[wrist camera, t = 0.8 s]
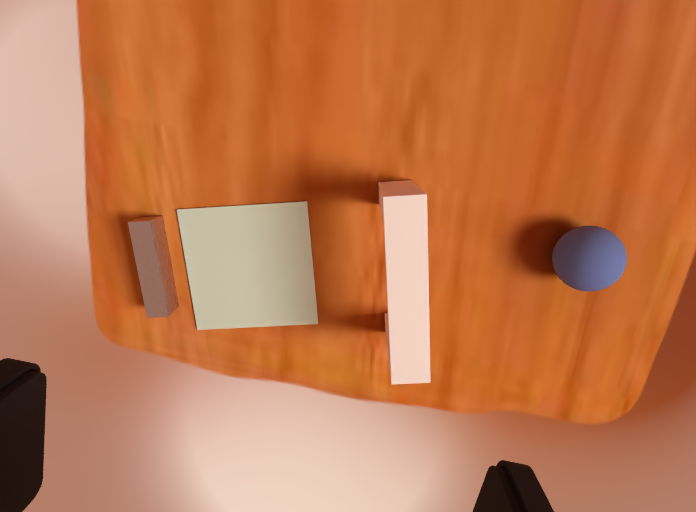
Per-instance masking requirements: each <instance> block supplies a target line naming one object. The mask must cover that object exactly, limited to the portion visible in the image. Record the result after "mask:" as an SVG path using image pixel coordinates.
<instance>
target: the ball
mask: <svg viewBox="0 0 696 512" xmlns="http://www.w3.org/2000/svg"><path fill="white" fill-rule="evenodd" d="M626 262H627V255H626V250H625V247H624V245H623V244H622V242H621V240H620V239H619V238H618V237H617V236H616V235H615V234H613V233H612V232H610V231H609V230H607V229H604V228H601V227H597V226H582V227H578V228H575V229H572V230H570V231H568V232H567V233H565V234H564V235H563V236H562V237H561V238H560V239H559V240H558V242H557V243H556V245H555V247H554V250H553V254H552V263H553V267H554V270H555V272H556V274H557V275H558V277H559V278H560V279H561V280H562V281H563V282H564V283H565V284H567V285H568V286H570V287H572V288H574V289H578V290H581V291H597V290H602V289H605V288H607V287H609V286H611V285H612V284H614V283H615V282H616V281H617V280H618V279H619V278H620V277H621V275H622V274H623V272H624V270H625V267H626Z"/></svg>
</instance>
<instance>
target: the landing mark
mask: <svg viewBox="0 0 696 512" xmlns="http://www.w3.org/2000/svg"><path fill="white" fill-rule="evenodd" d="M177 215H178V221H179V227H180V232H181V238H182V244H183V250H184V256H185V261H186V267H187V273H188V279H189V285H190V290H191V296H192V302H193V308H194V314H195V319H196V325H197V330H205V329H226V328H246V327H266V326H287V325H307V324H318V314H317V303H316V292H315V281H314V270H313V259H312V249H311V238H310V227H309V216H308V205H307V201H302V202H286V203H270V204H254V205H238V206H222V207H206V208H190V209H177Z"/></svg>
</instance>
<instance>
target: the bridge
mask: <svg viewBox="0 0 696 512" xmlns="http://www.w3.org/2000/svg"><path fill="white" fill-rule="evenodd" d="M378 187H379V205H380V209H381V214H382V218H383V222H384V243H385V265H386V287H387V308H388V313H385V333H386V341H387V350H388V358H389V367H390V375H391V384H410V383H430V334H429V280H428V227H427V194H426V193H425V192H424V191H423V190H422V189H421V188H420V187H419V186H418V185H417V184H416V183H415V182H414V181H413V180H405V181H389V182H378Z"/></svg>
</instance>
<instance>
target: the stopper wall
mask: <svg viewBox="0 0 696 512" xmlns="http://www.w3.org/2000/svg"><path fill="white" fill-rule="evenodd" d="M128 227H129V232H130V237H131V242H132V246H133V251H134V256H135V261H136V266H137V271H138V276H139V281H140V286H141V291H142V295H143V300H144V305H145V310H146V315H147V318H150V317H168V316H169V315H170V314H171V313H172V312H174V311H175V310H176V309H177V308H178V307H179V304H178V298H177V293H176V287H175V282H174V276H173V271H172V265H171V260H170V254H169V249H168V243H167V238H166V232H165V227H164V221H163V216H148V217H140V218H137V219H135V220H132V221H129V222H128Z"/></svg>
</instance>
